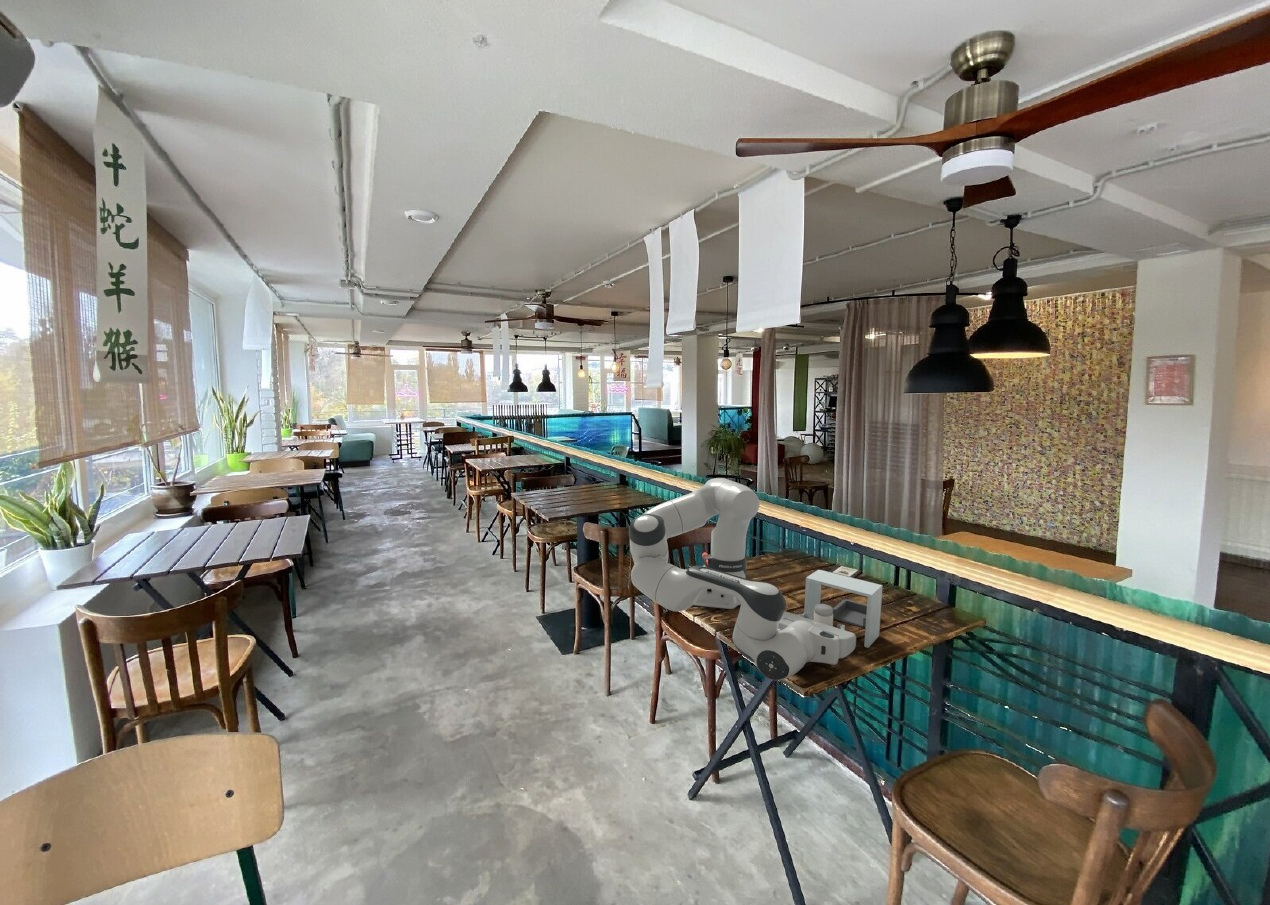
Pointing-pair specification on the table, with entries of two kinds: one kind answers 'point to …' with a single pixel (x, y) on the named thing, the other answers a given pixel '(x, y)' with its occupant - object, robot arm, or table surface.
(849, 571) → the chocolate bar
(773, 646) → the robot arm
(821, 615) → the shaker
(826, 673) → the table surface
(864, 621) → the tray
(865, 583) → the tunnel
